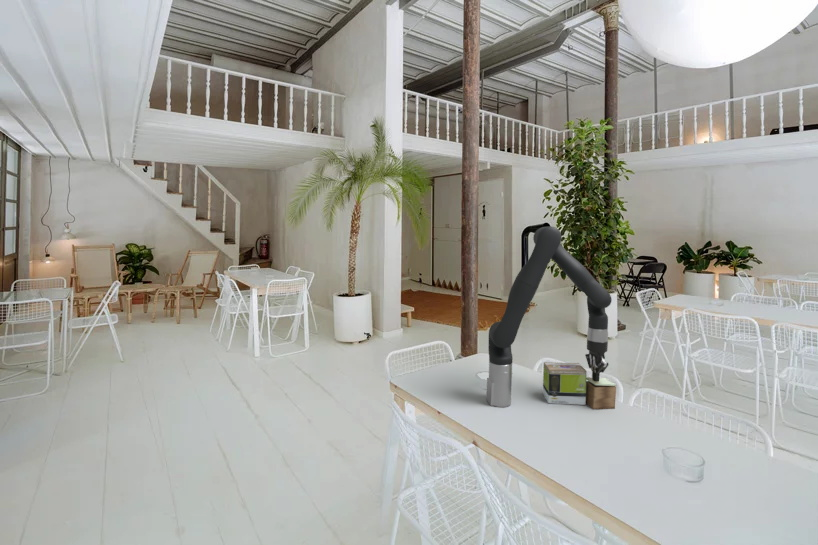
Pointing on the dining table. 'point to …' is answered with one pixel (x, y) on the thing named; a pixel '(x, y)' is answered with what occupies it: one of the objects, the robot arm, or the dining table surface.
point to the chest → (600, 396)
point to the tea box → (564, 383)
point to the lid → (601, 382)
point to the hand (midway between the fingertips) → (595, 380)
